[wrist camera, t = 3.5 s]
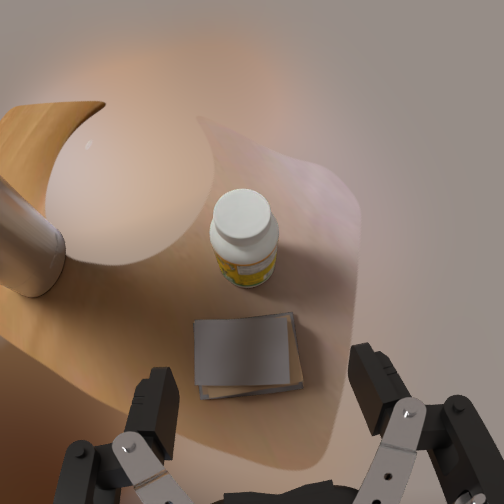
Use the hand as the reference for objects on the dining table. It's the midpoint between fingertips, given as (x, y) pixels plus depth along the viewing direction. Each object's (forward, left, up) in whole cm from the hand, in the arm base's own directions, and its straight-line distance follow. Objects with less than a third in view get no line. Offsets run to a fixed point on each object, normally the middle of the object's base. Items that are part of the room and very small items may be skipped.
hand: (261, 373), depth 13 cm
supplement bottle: (0, +11, -15) cm, 18 cm away
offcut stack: (-1, +2, -14) cm, 14 cm away
